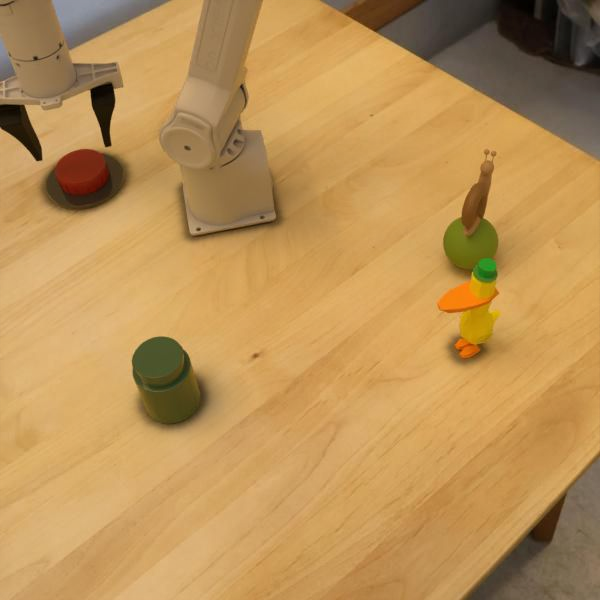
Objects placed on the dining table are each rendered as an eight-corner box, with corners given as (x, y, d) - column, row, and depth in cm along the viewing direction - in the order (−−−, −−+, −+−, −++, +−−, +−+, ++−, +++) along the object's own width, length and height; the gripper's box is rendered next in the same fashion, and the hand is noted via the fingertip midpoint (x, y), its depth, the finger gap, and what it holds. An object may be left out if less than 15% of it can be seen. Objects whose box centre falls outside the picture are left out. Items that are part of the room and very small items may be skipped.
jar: (196, 371, 82) (183, 326, 76) (204, 416, 78) (191, 374, 73) (142, 383, 81) (125, 339, 76) (148, 429, 78) (131, 387, 72)
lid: (73, 157, 101) (68, 145, 100) (117, 165, 100) (113, 152, 98) (50, 191, 98) (45, 178, 96) (96, 199, 96) (91, 187, 95)
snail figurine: (504, 242, 89) (519, 155, 80) (486, 286, 85) (499, 201, 76) (454, 228, 91) (463, 142, 81) (434, 271, 87) (441, 186, 78)
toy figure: (442, 375, 79) (451, 295, 70) (425, 347, 81) (431, 265, 72) (506, 351, 81) (524, 268, 71) (487, 323, 83) (502, 240, 73)
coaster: (121, 149, 102) (120, 146, 102) (126, 201, 97) (125, 198, 96) (46, 163, 102) (45, 159, 101) (47, 216, 96) (45, 212, 96)
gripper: (-40, 82, 81) (8, 185, 92) (111, 53, 83) (141, 158, 93) (-38, 40, 86) (7, 143, 96) (105, 13, 87) (135, 118, 98)
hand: (73, 148), depth 95 cm, fingers open, 7 cm apart
